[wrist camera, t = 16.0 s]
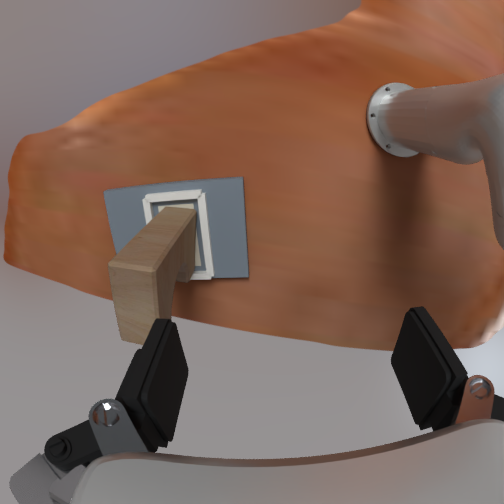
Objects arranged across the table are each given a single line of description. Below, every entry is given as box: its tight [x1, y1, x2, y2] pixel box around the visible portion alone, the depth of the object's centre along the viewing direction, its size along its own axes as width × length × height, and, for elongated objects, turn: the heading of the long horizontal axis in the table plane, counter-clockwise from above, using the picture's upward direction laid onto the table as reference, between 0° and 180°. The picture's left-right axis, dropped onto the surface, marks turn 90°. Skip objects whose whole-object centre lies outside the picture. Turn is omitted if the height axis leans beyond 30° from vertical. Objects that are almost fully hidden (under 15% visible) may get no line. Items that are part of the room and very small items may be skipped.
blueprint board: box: [104, 177, 249, 280], centre depth 47 cm, size 24×17×2 cm
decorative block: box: [108, 206, 197, 345], centre depth 38 cm, size 11×6×20 cm, turn 172°
